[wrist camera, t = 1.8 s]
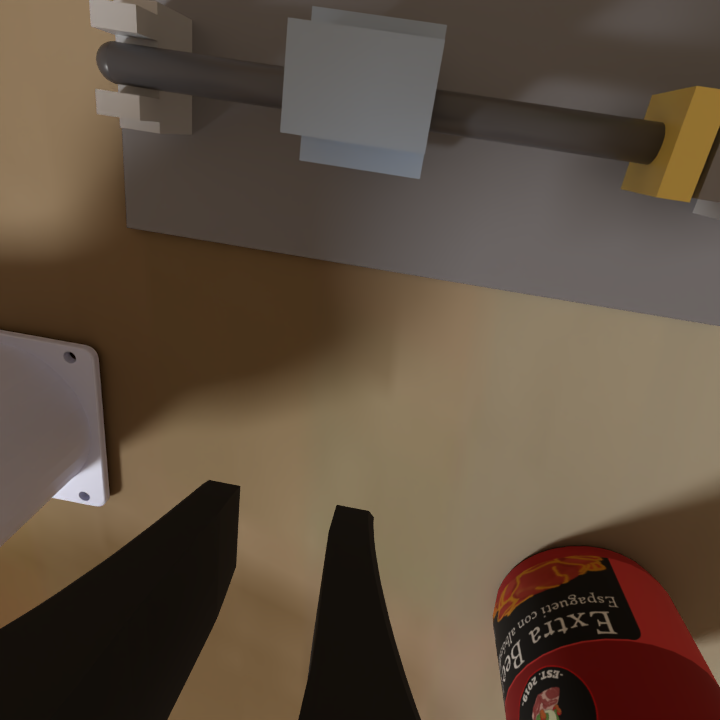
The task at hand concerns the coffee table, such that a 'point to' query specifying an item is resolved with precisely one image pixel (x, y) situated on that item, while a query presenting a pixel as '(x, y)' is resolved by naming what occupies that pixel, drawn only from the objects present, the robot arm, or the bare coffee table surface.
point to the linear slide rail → (445, 145)
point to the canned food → (596, 643)
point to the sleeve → (361, 89)
